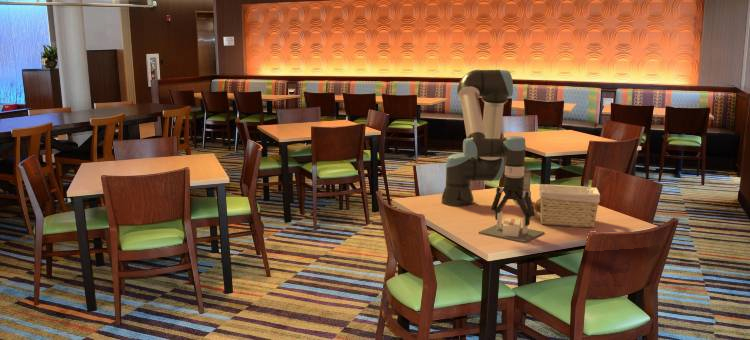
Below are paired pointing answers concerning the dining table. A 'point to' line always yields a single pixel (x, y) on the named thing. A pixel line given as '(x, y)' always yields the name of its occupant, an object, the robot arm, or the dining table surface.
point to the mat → (521, 237)
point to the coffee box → (525, 183)
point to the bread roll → (538, 205)
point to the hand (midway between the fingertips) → (511, 230)
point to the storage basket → (568, 205)
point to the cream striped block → (511, 227)
